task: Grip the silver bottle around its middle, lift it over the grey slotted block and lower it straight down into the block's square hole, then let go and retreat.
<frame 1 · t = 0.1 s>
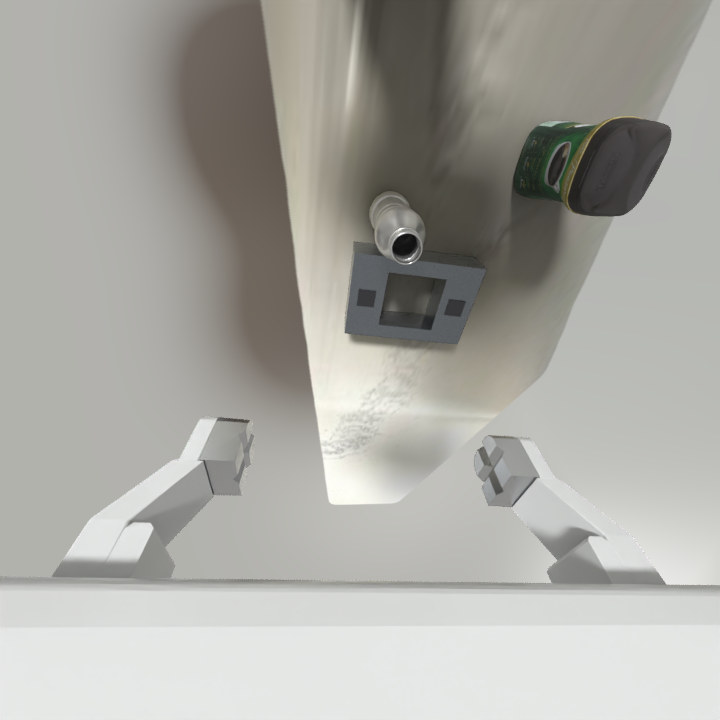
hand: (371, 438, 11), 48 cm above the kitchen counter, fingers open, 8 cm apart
coffee jar: (541, 160, 47), on the kitchen counter
silver bottle: (388, 210, 50), on the kitchen counter
grey slotted block: (406, 289, 59), on the kitchen counter
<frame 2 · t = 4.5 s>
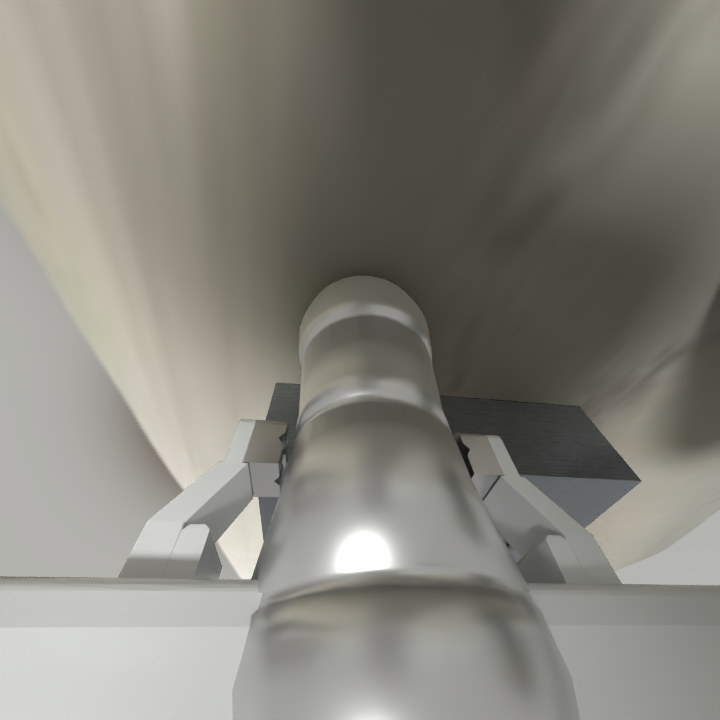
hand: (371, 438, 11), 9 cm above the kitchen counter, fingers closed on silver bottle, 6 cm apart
silver bottle: (362, 316, 18), on the kitchen counter, touching gripper
grey slotted block: (411, 459, 26), on the kitchen counter
when the fingers open (10 cm above the kitchen counter, at t = 14.5 s): silver bottle drops 1 cm, resting in grey slotted block.
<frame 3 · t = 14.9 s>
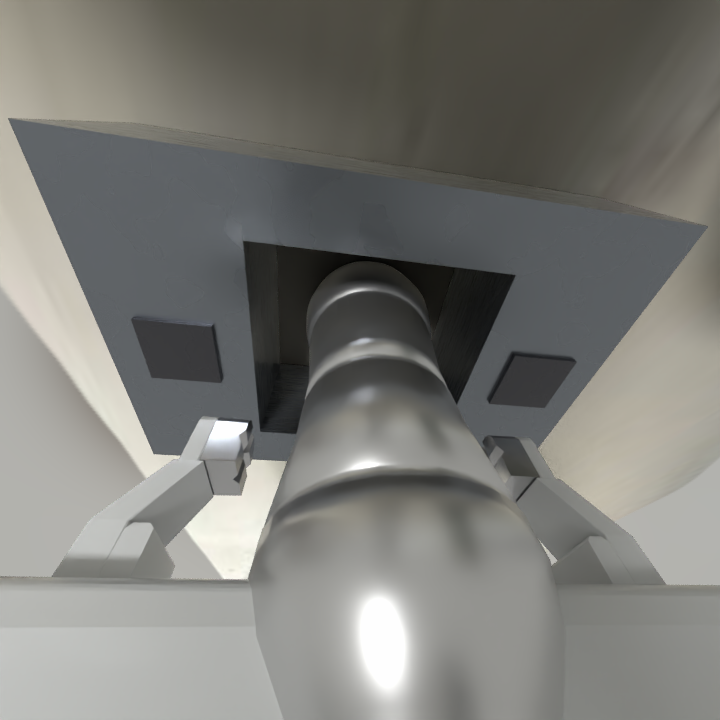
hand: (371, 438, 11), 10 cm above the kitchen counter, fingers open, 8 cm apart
silver bottle: (364, 303, 19), resting in grey slotted block
grey slotted block: (361, 306, 19), on the kitchen counter
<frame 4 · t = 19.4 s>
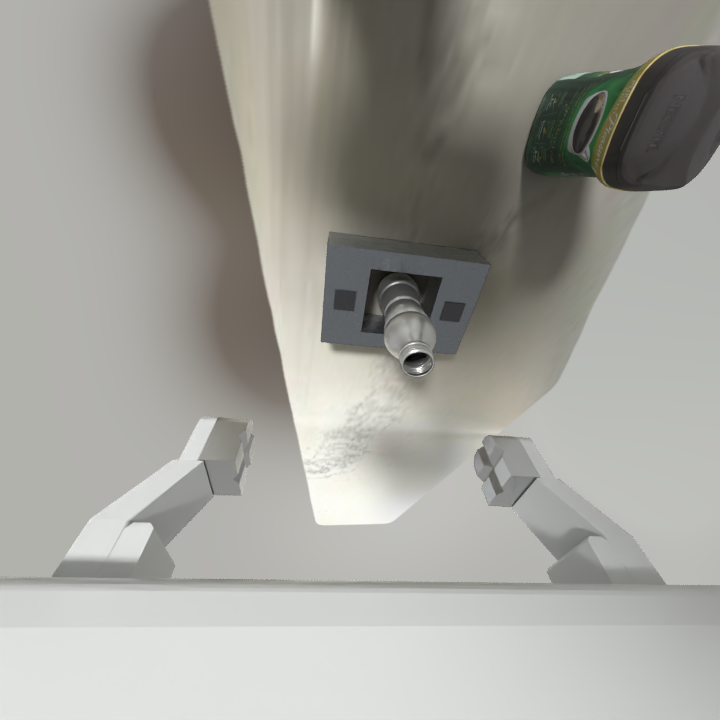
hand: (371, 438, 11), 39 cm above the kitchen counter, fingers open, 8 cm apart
coffee jar: (559, 128, 37), on the kitchen counter
silver bottle: (395, 287, 49), resting in grey slotted block
grey slotted block: (394, 289, 49), on the kitchen counter
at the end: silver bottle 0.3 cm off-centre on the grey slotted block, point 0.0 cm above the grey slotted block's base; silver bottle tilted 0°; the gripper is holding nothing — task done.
